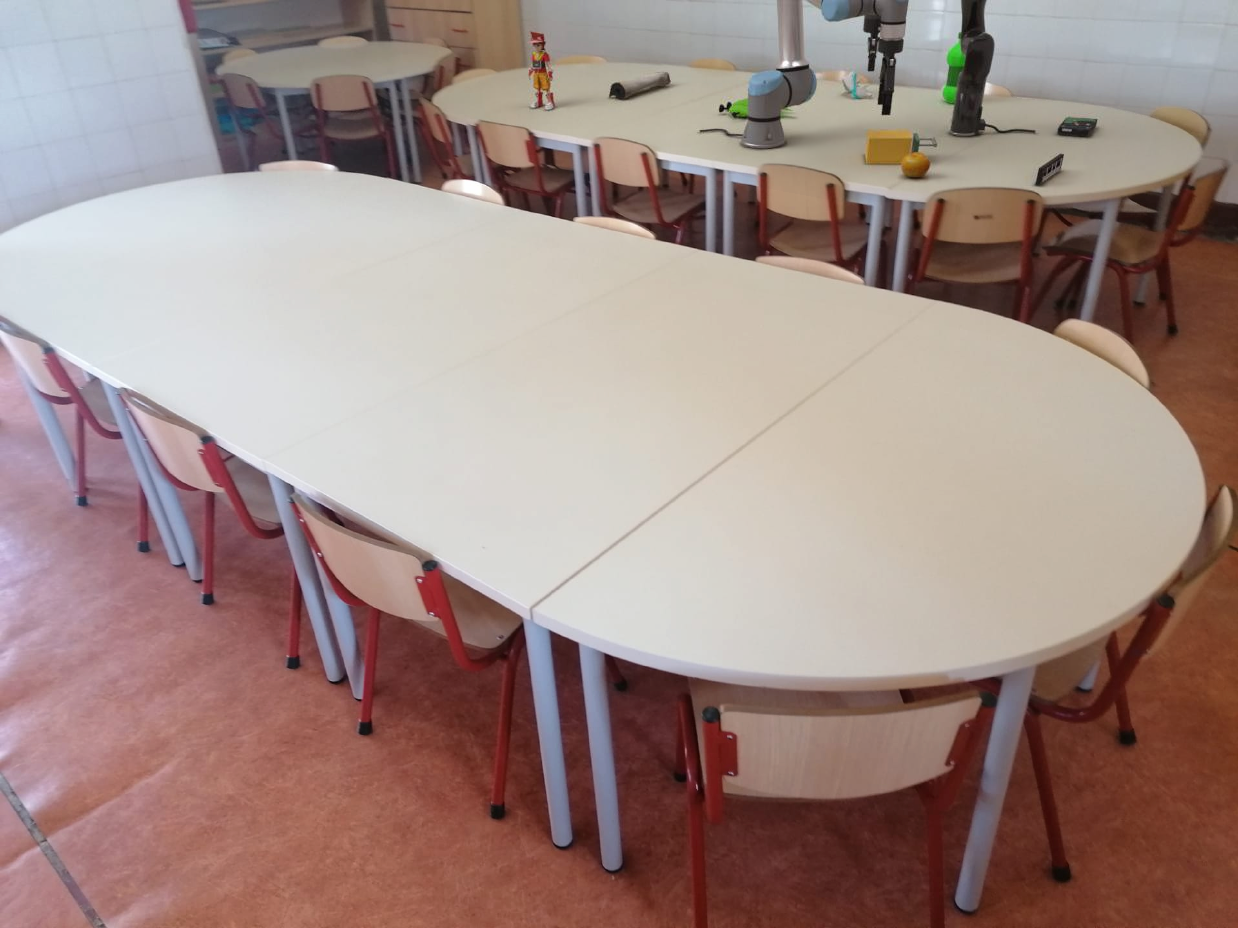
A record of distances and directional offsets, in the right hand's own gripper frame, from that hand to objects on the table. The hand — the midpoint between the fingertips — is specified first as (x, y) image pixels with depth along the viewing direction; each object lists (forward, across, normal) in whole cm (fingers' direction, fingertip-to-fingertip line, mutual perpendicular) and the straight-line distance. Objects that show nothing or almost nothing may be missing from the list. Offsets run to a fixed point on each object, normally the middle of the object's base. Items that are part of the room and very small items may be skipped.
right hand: (871, 68), depth 303 cm
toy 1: (+23, +44, +135) cm, 144 cm away
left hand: (+8, -20, -5) cm, 23 cm away
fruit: (+24, -39, -16) cm, 48 cm away
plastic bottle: (+24, +58, -33) cm, 71 cm away
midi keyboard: (+24, -37, -56) cm, 71 cm away
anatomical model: (+24, +68, +6) cm, 73 cm away
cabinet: (+24, -21, -8) cm, 33 cm away
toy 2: (+24, +36, +41) cm, 60 cm away
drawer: (+23, -21, -14) cm, 34 cm away
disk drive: (+25, +17, -72) cm, 78 cm away
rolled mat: (+24, +73, +98) cm, 125 cm away
